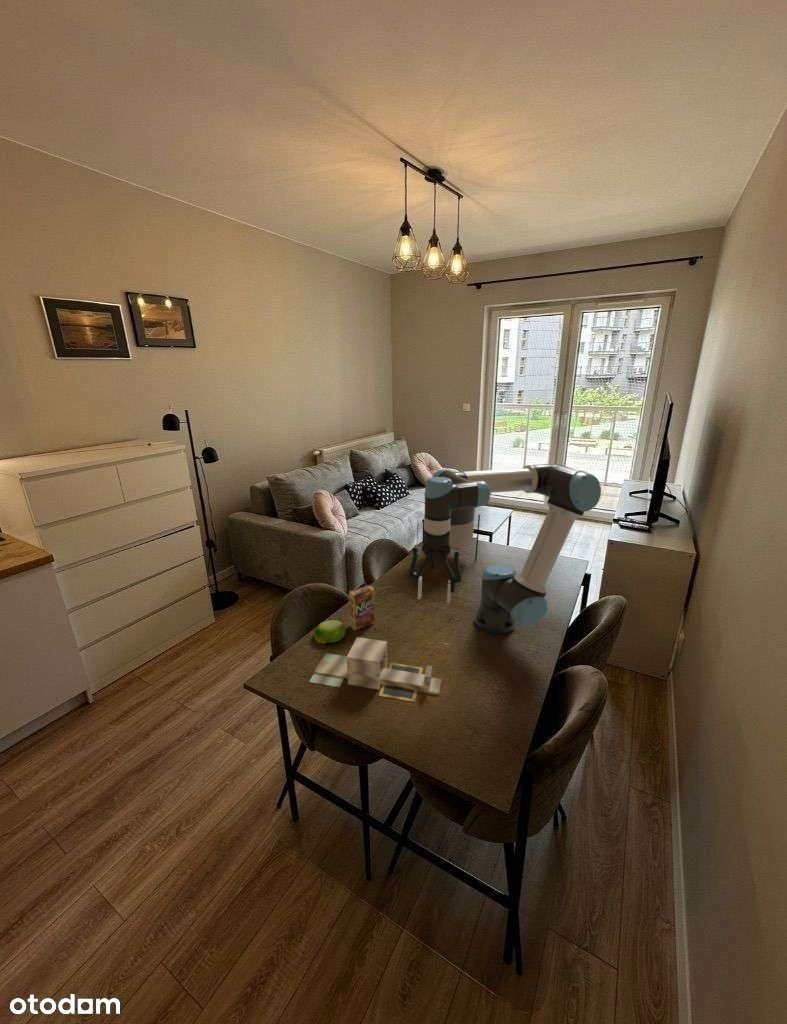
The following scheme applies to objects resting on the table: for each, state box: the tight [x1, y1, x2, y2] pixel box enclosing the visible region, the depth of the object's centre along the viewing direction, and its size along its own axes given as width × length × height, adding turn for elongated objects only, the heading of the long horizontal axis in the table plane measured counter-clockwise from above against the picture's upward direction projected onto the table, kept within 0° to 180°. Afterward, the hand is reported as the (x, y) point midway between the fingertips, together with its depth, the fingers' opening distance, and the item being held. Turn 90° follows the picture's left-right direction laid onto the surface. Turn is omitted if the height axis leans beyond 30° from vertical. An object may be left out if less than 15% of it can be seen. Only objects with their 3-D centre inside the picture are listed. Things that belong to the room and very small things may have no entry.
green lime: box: [313, 619, 346, 645], centre depth 151 cm, size 12×11×5 cm
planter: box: [431, 507, 481, 569], centre depth 206 cm, size 26×25×35 cm
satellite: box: [308, 637, 442, 703], centre depth 130 cm, size 40×15×10 cm, turn 77°
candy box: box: [348, 584, 375, 631], centre depth 156 cm, size 9×4×15 cm, turn 123°
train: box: [380, 665, 433, 690], centre depth 129 cm, size 24×6×7 cm, turn 77°
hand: (434, 598), depth 128 cm, fingers open, 8 cm apart
